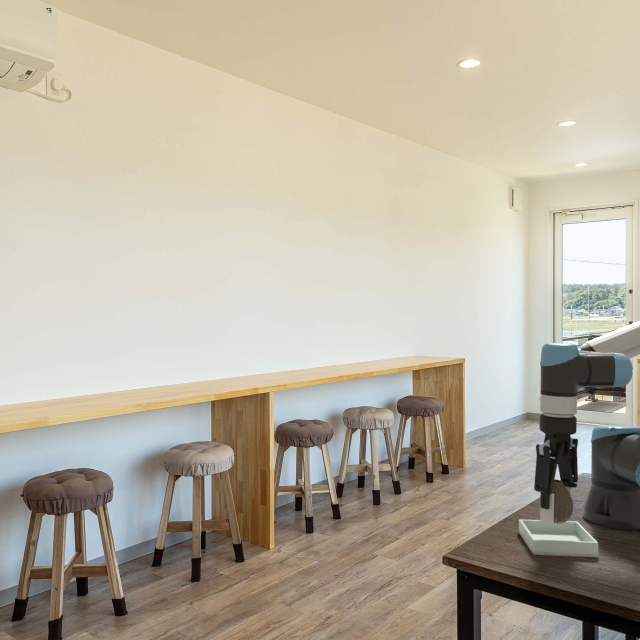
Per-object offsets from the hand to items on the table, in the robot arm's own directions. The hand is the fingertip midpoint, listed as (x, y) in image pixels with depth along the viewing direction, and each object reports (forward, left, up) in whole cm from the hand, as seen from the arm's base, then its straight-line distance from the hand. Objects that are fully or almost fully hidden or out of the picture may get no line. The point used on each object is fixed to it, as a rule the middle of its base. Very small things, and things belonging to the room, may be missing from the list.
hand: (555, 519), depth 134 cm
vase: (0, 0, -1) cm, 1 cm away
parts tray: (0, 0, -5) cm, 5 cm away
